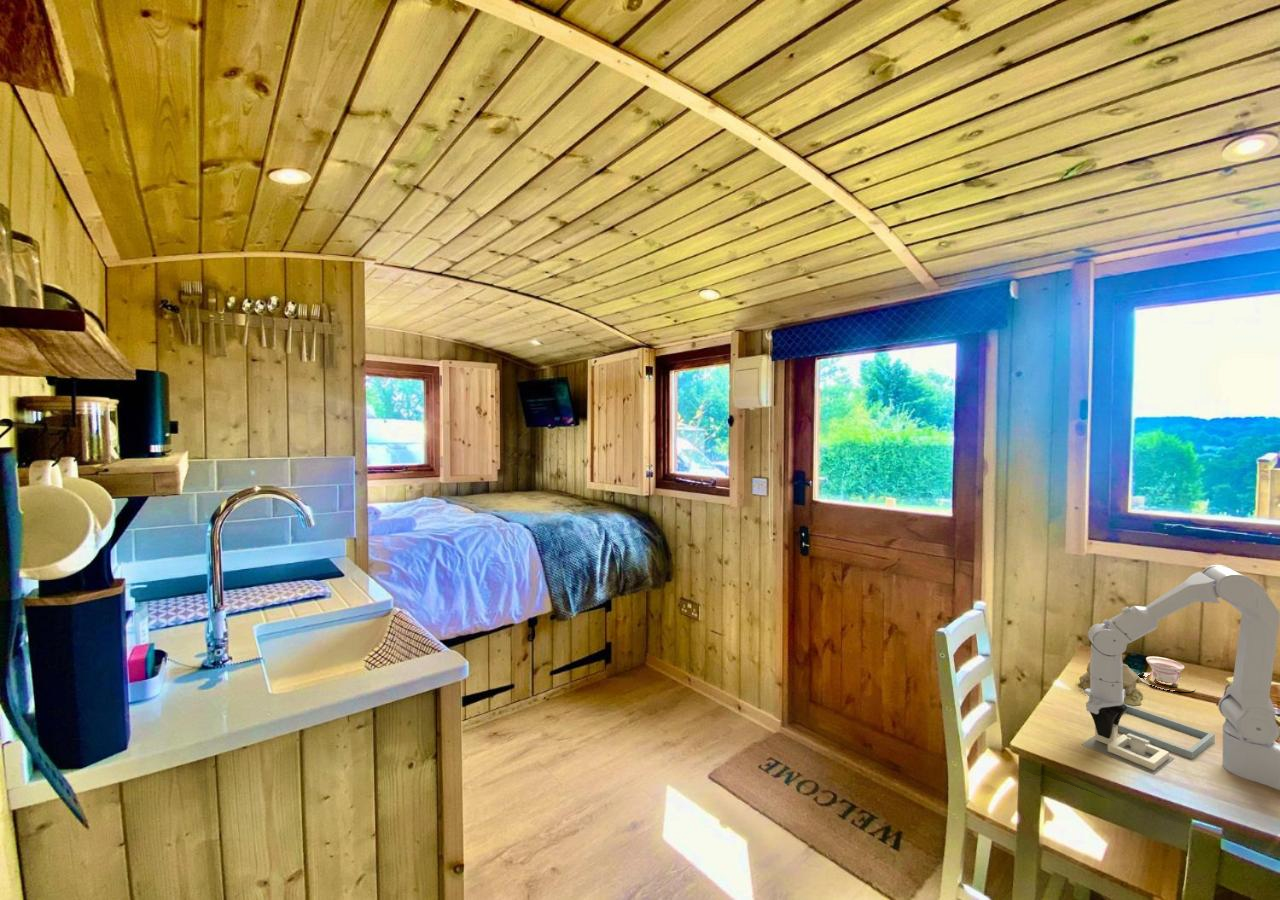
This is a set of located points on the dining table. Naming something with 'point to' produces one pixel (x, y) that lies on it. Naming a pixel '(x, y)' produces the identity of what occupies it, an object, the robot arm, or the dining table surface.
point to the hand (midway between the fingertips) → (1106, 734)
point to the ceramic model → (1129, 684)
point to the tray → (1183, 728)
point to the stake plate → (1135, 747)
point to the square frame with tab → (1117, 748)
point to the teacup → (1163, 670)
